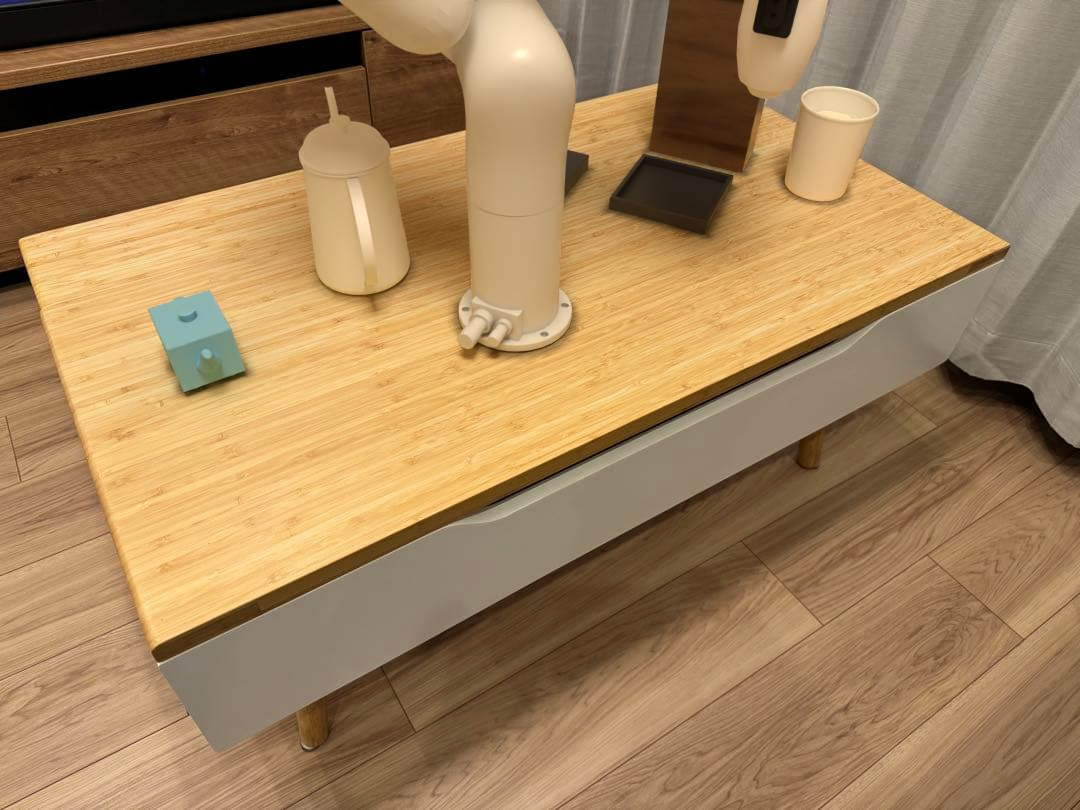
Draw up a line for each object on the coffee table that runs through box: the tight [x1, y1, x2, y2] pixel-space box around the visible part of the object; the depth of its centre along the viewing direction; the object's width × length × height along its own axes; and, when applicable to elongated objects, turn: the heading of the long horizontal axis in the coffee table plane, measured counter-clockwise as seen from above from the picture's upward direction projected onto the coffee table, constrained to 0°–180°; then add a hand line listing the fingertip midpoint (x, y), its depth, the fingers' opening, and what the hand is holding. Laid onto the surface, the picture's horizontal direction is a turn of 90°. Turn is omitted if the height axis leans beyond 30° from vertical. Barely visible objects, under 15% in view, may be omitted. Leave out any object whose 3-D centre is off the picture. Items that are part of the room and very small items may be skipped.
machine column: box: [648, 0, 766, 174], centre depth 106 cm, size 6×14×24 cm, turn 65°
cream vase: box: [737, 0, 829, 100], centre depth 73 cm, size 7×7×21 cm
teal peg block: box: [147, 289, 246, 393], centre depth 77 cm, size 12×6×8 cm, turn 33°
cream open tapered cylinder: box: [784, 85, 880, 202], centre depth 104 cm, size 10×10×12 cm
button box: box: [564, 149, 590, 198], centre depth 106 cm, size 12×10×4 cm
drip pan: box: [608, 153, 735, 235], centre depth 105 cm, size 13×13×2 cm
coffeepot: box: [298, 86, 411, 296], centre depth 86 cm, size 11×25×19 cm, turn 17°
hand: (781, 18), depth 69 cm, fingers closed on cream vase, 7 cm apart
